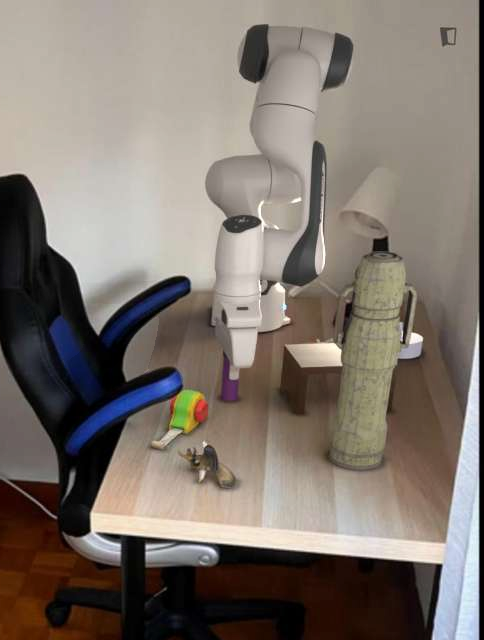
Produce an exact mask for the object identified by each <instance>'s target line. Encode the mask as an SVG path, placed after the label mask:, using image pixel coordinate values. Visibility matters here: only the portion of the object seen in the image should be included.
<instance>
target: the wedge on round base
mask: <svg viewBox="0 0 484 640" xmlns="http://www.w3.org/2000/svg"><path fill="white" fill-rule="evenodd" d="M399 323H400V328H401V341H402V342H403V340H402V337H403V329H404V321H399ZM423 341H424V337H423V336H422V335H420V334H418V333H416V332H412V333H411V338H410V342H409V346H408V348H404V349H401V352H399V353H398V359H399V360H400V359H401V360H405V359H406V360H407V359H414V358H417V357H420V356H421V353H422V347H423Z"/></svg>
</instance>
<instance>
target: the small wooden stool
mask: <svg viewBox="0 0 484 640" xmlns="http://www.w3.org/2000/svg"><path fill="white" fill-rule="evenodd" d="M341 351H342V350H340V349H339V348H338V347H337V346H336V344H335V343H334V342H331V343H323V344H302V343H301V344H300V343H298V344H297V343H295V344H294V343H293V344H284V345H283V355H282V365H281V366H282V367H281V375H280V387H279V390H280V392H281V393H282V395H283V397H284V398H285V400H286V402H287V403H288V404H289V406H290V407H291V409H292V411H293V412H294V413H295V415H304V414H305V408H306V398H307V390H308V382H309V380H308V379H309V375H336V374H337V375H338V374H340V375H341V374H342V367H343V366H342V363H341ZM398 368H399V364H398V363H397V364H396V366H395V367H394V369H393V372H392V379H391V385H390V392H389V398H388V405H387V411H386V413H389V412H392V407H393V400H394V395H395V388H396V381H397V377H398V376H397V375H398Z"/></svg>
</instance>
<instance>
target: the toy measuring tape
mask: <svg viewBox="0 0 484 640" xmlns="http://www.w3.org/2000/svg"><path fill="white" fill-rule="evenodd" d="M169 413H170V415H171V419H170V421H169V425H168V431H167V432H166V434H165V435H164V436H163V437H161V439H160V440H154V439H153V440H151V443H150V447H152V448H154V449H158V450H164V447H166V446H167V445H168V444H169V443H170V442H171V441H173V440H174V439H175V438H176V437H177V436H178V435H180V434H185V435H186V434H188V433H190V432H191V431H192V430H194V429H195V428H196V427H197V426H198V425H199V424H200V423H203V422H204V421H205V420H206V419H207V417H208V414H209V403H208V402H207V400H206V398H205V396H204V394H203V393H201V392H200V391H197V390H192V389H184V390H181V391H180V392H179V393H177V394H176V395H175V396H174V397H173V398H172V399H171V401H170V403H169Z"/></svg>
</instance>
